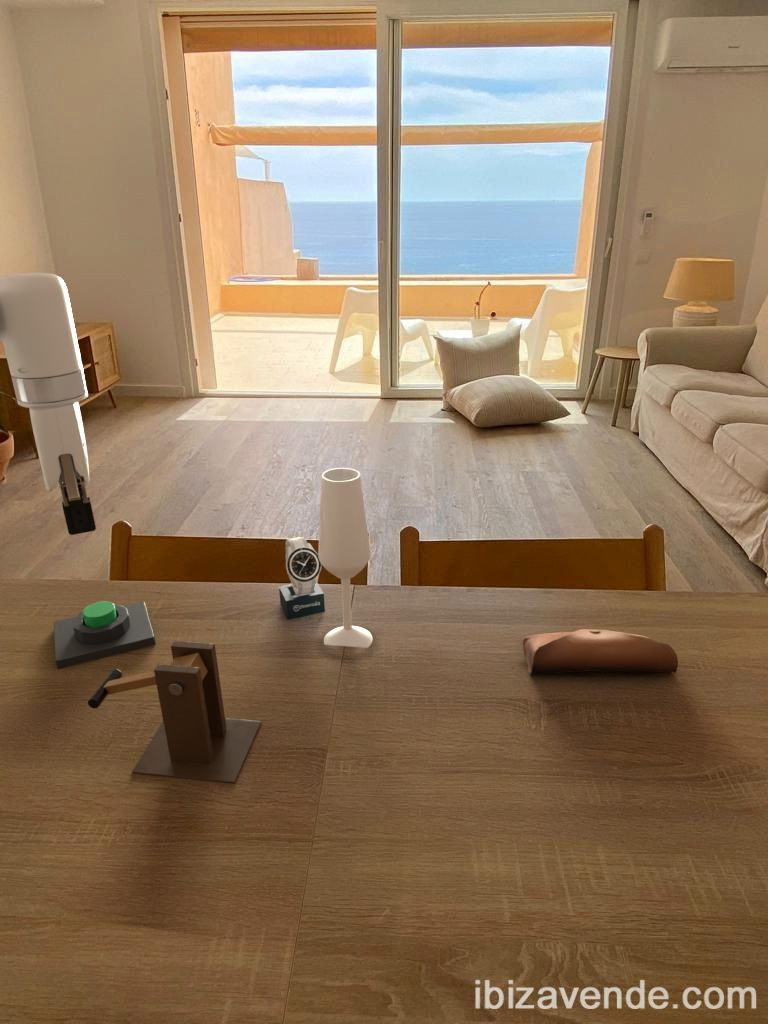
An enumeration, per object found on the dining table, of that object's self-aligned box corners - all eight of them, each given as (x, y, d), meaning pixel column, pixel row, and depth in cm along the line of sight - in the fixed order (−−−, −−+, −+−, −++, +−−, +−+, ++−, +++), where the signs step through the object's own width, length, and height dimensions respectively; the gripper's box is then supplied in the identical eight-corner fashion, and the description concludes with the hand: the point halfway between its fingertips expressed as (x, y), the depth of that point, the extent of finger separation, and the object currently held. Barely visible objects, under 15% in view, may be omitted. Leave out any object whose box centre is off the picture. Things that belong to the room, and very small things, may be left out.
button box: (59, 675, 88) (52, 649, 86) (56, 634, 96) (50, 610, 95) (156, 650, 92) (152, 625, 91) (146, 613, 101) (142, 590, 99)
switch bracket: (133, 780, 72) (111, 680, 66) (169, 721, 80) (153, 627, 75) (235, 791, 70) (221, 689, 65) (262, 729, 78) (251, 634, 73)
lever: (93, 714, 71) (82, 695, 71) (117, 683, 76) (107, 665, 75) (194, 693, 68) (184, 674, 68) (213, 663, 73) (203, 644, 72)
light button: (86, 631, 90) (83, 620, 90) (84, 616, 94) (81, 605, 93) (118, 623, 92) (115, 612, 91) (115, 609, 95) (112, 598, 95)
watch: (291, 627, 97) (285, 557, 93) (277, 599, 104) (271, 533, 99) (329, 618, 99) (325, 550, 94) (313, 591, 106) (309, 526, 101)
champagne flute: (320, 628, 97) (310, 467, 87) (368, 623, 98) (363, 463, 88) (326, 657, 91) (316, 487, 81) (377, 650, 92) (373, 482, 82)
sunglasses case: (653, 635, 93) (669, 613, 88) (665, 685, 89) (683, 665, 84) (518, 637, 93) (526, 614, 88) (525, 687, 89) (533, 667, 84)
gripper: (15, 377, 85) (48, 514, 92) (13, 407, 72) (51, 562, 80) (81, 370, 87) (108, 503, 95) (90, 398, 75) (120, 548, 83)
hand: (82, 530), depth 87 cm, fingers closed
